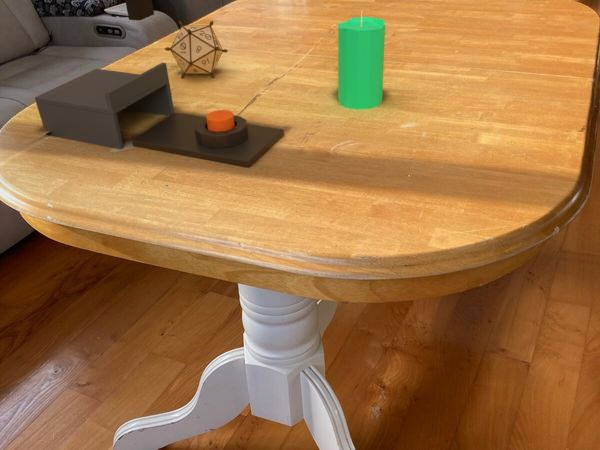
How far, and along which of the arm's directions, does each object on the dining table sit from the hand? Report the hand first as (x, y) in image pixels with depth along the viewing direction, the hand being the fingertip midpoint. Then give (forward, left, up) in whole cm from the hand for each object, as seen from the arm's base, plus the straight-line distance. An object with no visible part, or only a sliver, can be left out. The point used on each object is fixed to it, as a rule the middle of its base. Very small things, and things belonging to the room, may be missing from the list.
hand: (141, 16), depth 66 cm
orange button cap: (+9, 0, -12) cm, 15 cm away
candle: (+20, +18, -14) cm, 30 cm away
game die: (-7, +20, -14) cm, 26 cm away
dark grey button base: (+7, 0, -14) cm, 16 cm away
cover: (-8, 0, -14) cm, 16 cm away
